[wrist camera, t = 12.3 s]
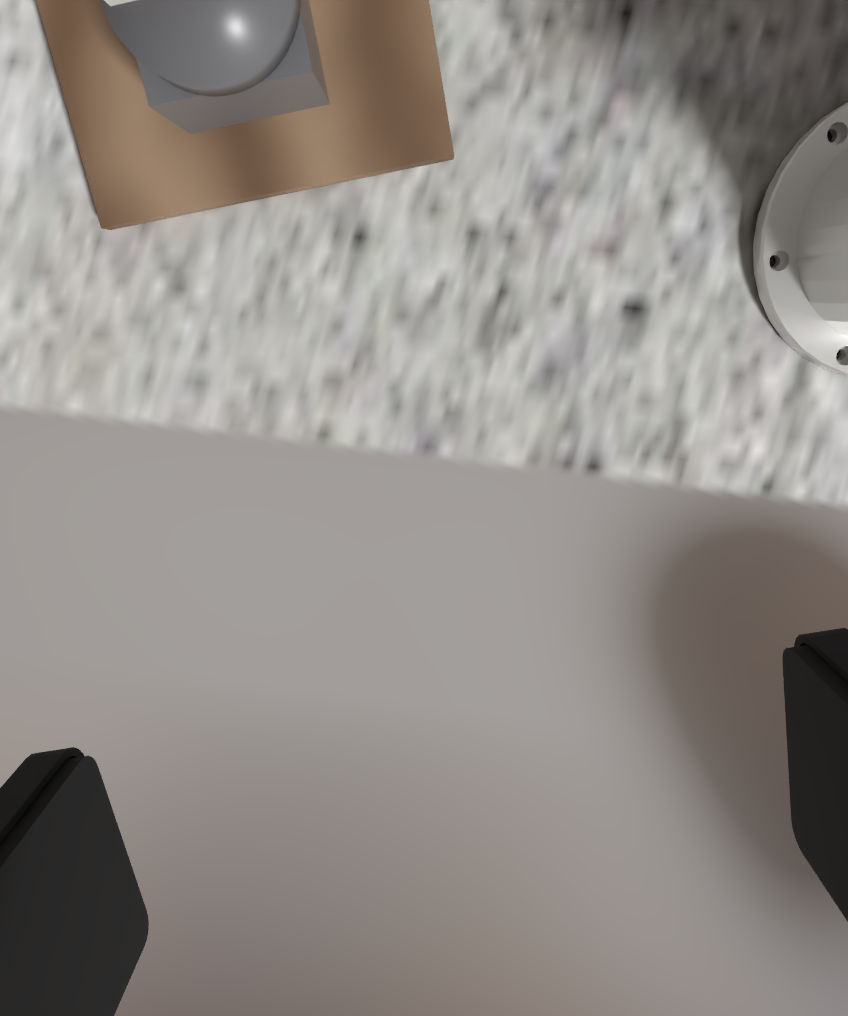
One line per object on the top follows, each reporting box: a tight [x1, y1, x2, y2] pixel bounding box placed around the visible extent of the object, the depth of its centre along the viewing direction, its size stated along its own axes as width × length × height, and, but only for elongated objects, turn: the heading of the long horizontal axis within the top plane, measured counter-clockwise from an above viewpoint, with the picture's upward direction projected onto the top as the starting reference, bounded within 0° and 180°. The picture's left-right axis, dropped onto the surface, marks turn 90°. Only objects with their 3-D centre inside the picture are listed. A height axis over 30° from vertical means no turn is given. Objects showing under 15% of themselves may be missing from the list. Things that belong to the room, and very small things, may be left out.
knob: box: [100, 0, 330, 134], centre depth 28 cm, size 7×7×7 cm
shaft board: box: [36, 0, 454, 230], centre depth 30 cm, size 16×12×6 cm
